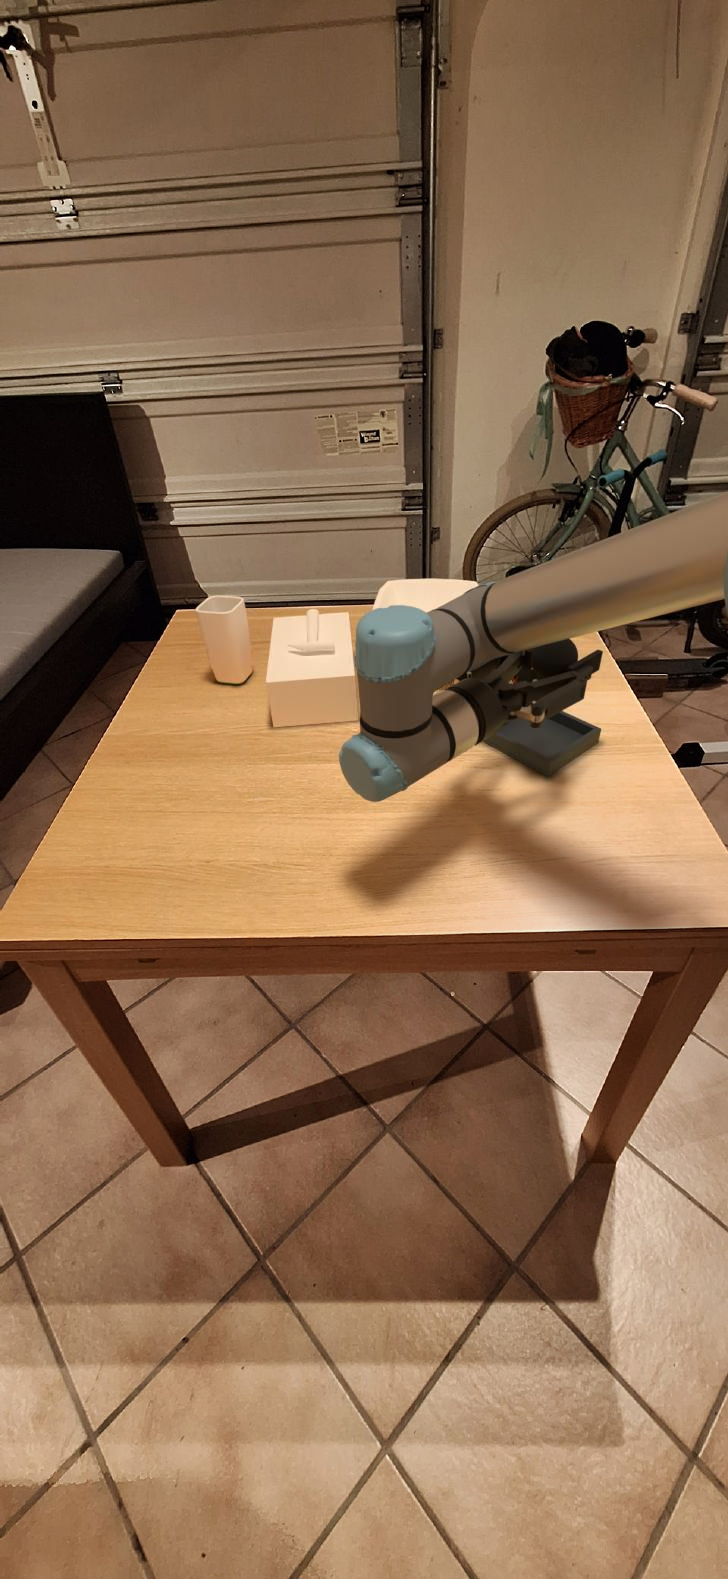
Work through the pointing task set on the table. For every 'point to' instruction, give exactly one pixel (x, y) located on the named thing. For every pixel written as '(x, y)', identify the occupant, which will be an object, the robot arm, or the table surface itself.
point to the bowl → (421, 592)
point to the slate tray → (546, 741)
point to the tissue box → (311, 670)
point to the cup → (226, 637)
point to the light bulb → (553, 658)
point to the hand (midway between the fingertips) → (576, 651)
